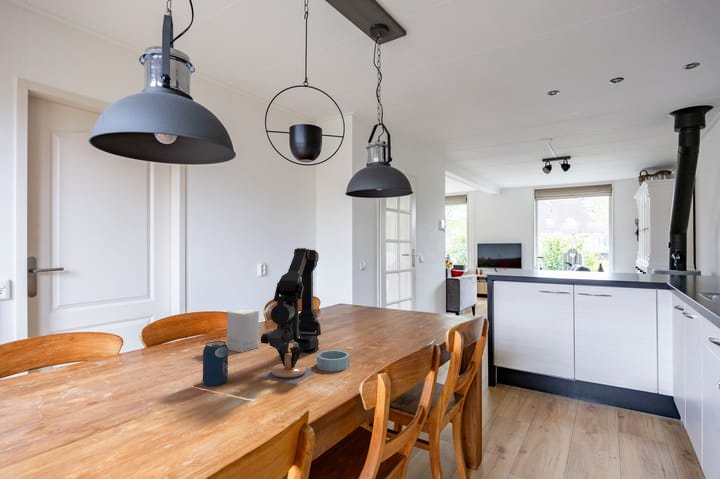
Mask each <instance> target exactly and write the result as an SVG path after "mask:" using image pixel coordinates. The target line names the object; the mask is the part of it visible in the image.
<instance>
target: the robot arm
mask: <svg viewBox="0 0 720 479" xmlns="http://www.w3.org/2000/svg"><path fill="white" fill-rule="evenodd" d="M319 255H320V254H319V252H317V251H316V250H315V249H310V248H307V247H297V248H294V251H293V257H292V259H291V262H290V265H289V267H288V270H287V272H286V273H284V274H283V275H282V276H281V277H280V279H279V281H278V282H277V284H276V287H275V288H276V289H275V291H274V296H273V302H276V303H277V304H276V305H274V307H272V309H271V311H270V318H271V321H272V322H273V323H274V324H275V325H277V327H276V329H273V330H271V331H267V332H265V333H262V335H261V336H260V343H261V344H264V345H265V344H266V345H268V344H269V346H270V347H272V348H274V349H276V351H277V353H278V355H279V357H280V361H281V364H283V366H285V354H286V353H289V352H290V353H291V366H292V368H294V367H295V365H296V363H298V360H299V357H300V355H301V354H302V353H307V354H313V353H314V352H317V351H319V350H320V347H319V345H320V344H319V336H321V335H322V328H321V324H320V320H318V313H316V311H315V308H314V271H315V269H316V268H317V266H318V262H319V257H320V256H319ZM300 300H301V311H300V312H299V310H300V307H299V306H300V304H299V302H300ZM290 344H293V346H292V347H289V346H290ZM289 350H290V351H289Z"/></svg>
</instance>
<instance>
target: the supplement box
mask: <svg viewBox="0 0 720 479" xmlns="http://www.w3.org/2000/svg"><path fill="white" fill-rule="evenodd" d="M259 313H260V311H259V310H256V309H255V310H254V309H248V308H247V309H246V308H242V309H236V310H231V311H230V310H229V311H226V345H227V347H228V351H232V352H237V353H245V352H247V351H251V350H255V349H258V348H259V340H260V339H259V338H260V337H259V336H260V335H259V334H260V332H259V329H260V326H259V325H260V324H259V320H260V319H259V318H260V314H259Z"/></svg>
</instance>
